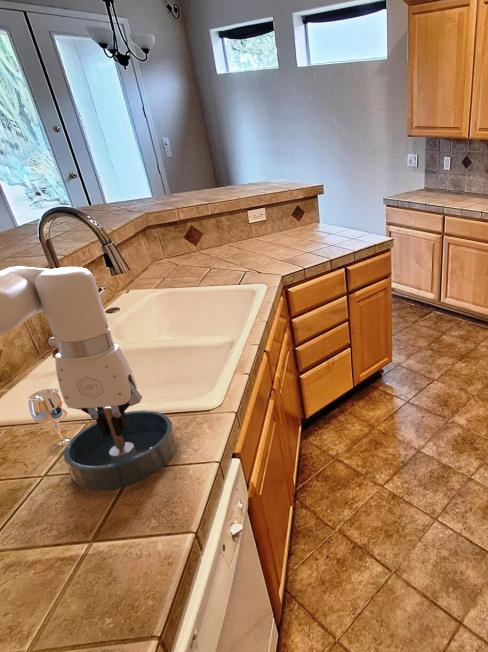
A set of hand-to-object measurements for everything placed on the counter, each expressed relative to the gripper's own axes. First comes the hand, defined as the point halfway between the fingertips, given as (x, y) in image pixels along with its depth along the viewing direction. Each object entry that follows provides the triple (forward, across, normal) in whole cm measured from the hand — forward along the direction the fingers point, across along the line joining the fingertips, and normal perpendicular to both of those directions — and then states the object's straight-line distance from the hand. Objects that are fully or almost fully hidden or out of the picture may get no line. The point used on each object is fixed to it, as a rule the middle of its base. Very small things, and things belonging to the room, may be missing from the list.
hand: (115, 431), depth 79 cm
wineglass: (+8, -15, +8) cm, 19 cm away
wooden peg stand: (+6, 0, 0) cm, 6 cm away
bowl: (+8, 0, +2) cm, 8 cm away
